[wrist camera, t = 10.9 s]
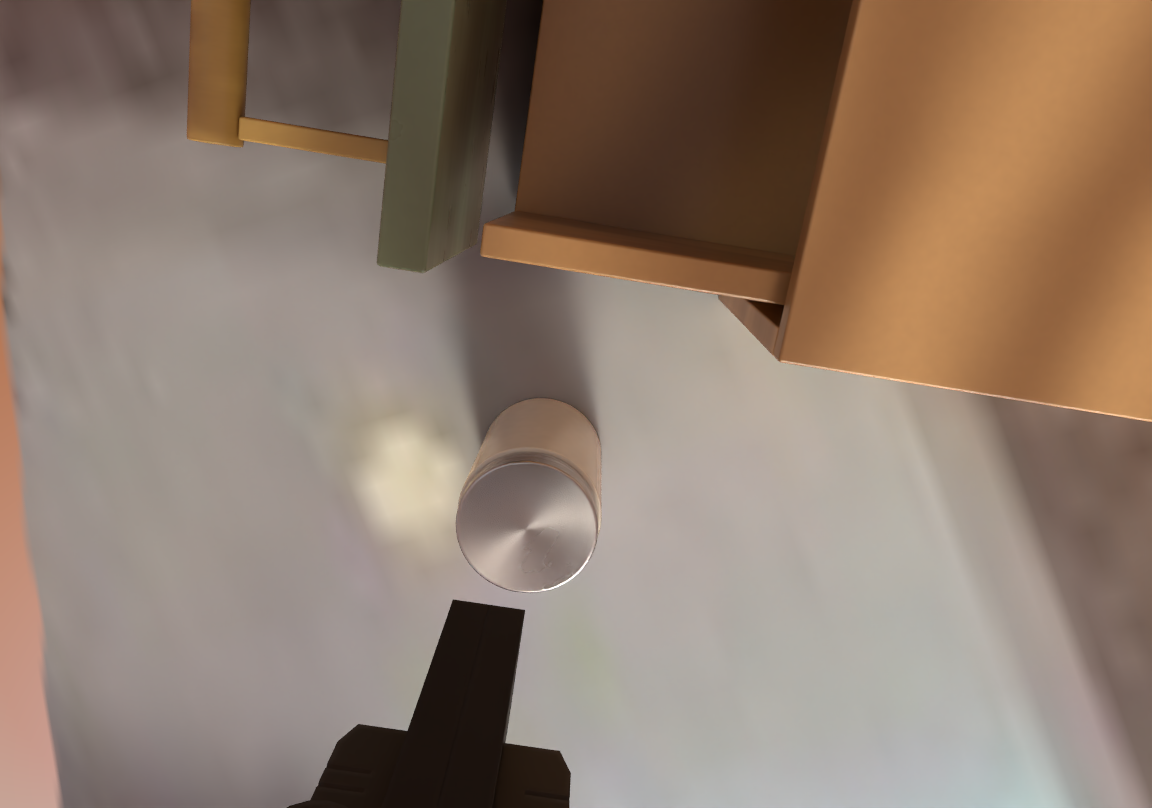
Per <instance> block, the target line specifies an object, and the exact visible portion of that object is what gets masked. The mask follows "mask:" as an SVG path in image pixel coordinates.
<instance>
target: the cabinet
mask: <svg viewBox="0 0 1152 808" xmlns="http://www.w3.org/2000/svg"><path fill="white" fill-rule="evenodd" d="M718 298H719V300H720V301H721V302H722V303H723V304H724V305H725V306H726V307H727V308H728V309H729V310H730V311H731V312H732V313H733V314H734V315H735V316H736V317H737V318H738V320H739V321H740V322H741V323H742V324H743V325H744V326H745V327H746V328H747V329H748V330H749V331H750V332H751V333H752V334H753V335H754V336H755V337H756V338H757V339H758V340H759V341H760V343H761V344H762V345H763V346H764V347H765V348H766V349H767V350H768V351H769V352H770V353H771V354H772V355H773V356H774V357H775V358H776V359H777V360H778V361H780V362H782V363H789V364H795V365H801V366H807V367H813V368H820V369H826V370H832V371H838V372H845V373H851V374H857V375H863V376H869V377H876V378H882V379H888V380H894V381H901V382H907V383H913V384H919V385H925V386H932V387H938V388H944V389H950V390H957V391H963V392H969V393H975V394H982V395H988V396H994V397H1000V398H1006V399H1013V400H1019V401H1025V402H1031V403H1038V404H1044V405H1050V406H1056V407H1062V408H1069V409H1075V410H1081V411H1087V412H1094V413H1100V414H1106V415H1112V416H1118V417H1125V418H1131V419H1137V420H1143V421H1150V422H1152V0H853V2H852V6H851V11H850V15H849V20H848V24H847V28H846V33H845V37H844V42H843V46H842V51H841V55H840V60H839V64H838V69H837V73H836V78H835V82H834V86H833V91H832V95H831V100H830V104H829V109H828V113H827V118H826V122H825V127H824V131H823V135H822V140H821V144H820V149H819V153H818V158H817V162H816V167H815V171H814V176H813V180H812V184H811V189H810V193H809V198H808V202H807V207H806V211H805V216H804V220H803V225H802V229H801V233H800V238H799V242H798V247H797V251H796V256H795V260H794V265H793V269H792V274H791V278H790V282H789V287H788V291H787V296H786V300H785V305H779V304H773V303H767V302H760V301H754V300H748V299H742V298H736V297H730V296H723V295H719V297H718Z"/></svg>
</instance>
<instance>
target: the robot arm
mask: <svg viewBox="0 0 1152 808" xmlns="http://www.w3.org/2000/svg"><path fill="white" fill-rule="evenodd" d="M524 614H525V610H521V609H514V608H507V607H500V606H493V605H487V604H480V603H473V602H466V601H459V600H453V601H452V604H451V607H450V610H449V613H448V616H447V619H446V622H445V624H444V627H443V630H442V633H441V636H440V639H439V642H438V645H437V648H436V650H435V653H434V656H433V659H432V662H431V665H430V668H429V671H428V674H427V676H426V679H425V682H424V685H423V688H422V691H421V694H420V697H419V700H418V702H417V705H416V708H415V711H414V714H413V717H412V720H411V723H410V726H409V728H408V731H402V730H396V729H389V728H382V727H375V726H368V725H361V724H358V725H357V726H356V727H354V728H353V729H352V730H351V731H350V732H348V733H347V734H346V735H345V736H344V737H343V738H341V739H340V740H339V741H338V742H337V744H336V746H335V748H334V750H333V753H332V755H331V757H330V759H329V761H328V763H327V768H325V770H324V772H323V774H322V776H321V778H320V781H319V784H318V786H317V787H316V789H315V791H314V794H313V796H312V798H311V800H310V801H305V802H302V803H298V804H295V805H291V806H289V807H287V808H569V797H570V777H571V773H570V771H569V769H568V767H567V765H566V763H565V761H564V759H563V757H562V755H561V753H560V751H555V750H548V749H542V748H535V747H528V746H521V745H514V744H507V743H505V741H506V735H507V729H508V722H509V716H510V709H511V702H512V695H513V688H514V682H515V675H516V668H517V661H518V654H519V648H520V641H521V634H522V627H523V621H524Z"/></svg>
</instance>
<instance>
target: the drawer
mask: <svg viewBox="0 0 1152 808" xmlns="http://www.w3.org/2000/svg"><path fill="white" fill-rule="evenodd" d="M852 2H853V0H543V5H542V12H541V20H540V27H539V35H538V42H537V49H536V57H535V64H534V72H533V79H532V87H531V94H530V101H529V109H528V116H527V124H526V131H525V139H524V146H523V153H522V161H521V168H520V176H519V183H518V191H517V198H516V205H515V211H514V212H512V213H509V214H507V215H504V216H502V217H499V218H497V219H495V220H492V221H490V222H487V223H485V224H484V226H483V233H482V241H481V249H480V254H481V256H483V257H488V258H494V259H501V260H507V261H513V262H519V263H525V264H532V265H538V266H544V267H550V268H556V269H562V270H569V271H575V272H581V273H587V274H593V275H600V276H606V277H612V278H618V279H624V280H631V281H637V282H643V283H649V284H655V285H661V286H668V287H674V288H680V289H686V290H692V291H699V292H705V293H711V294H717V295H723V296H730V297H736V298H742V299H748V300H754V301H760V302H767V303H773V304H779V305H785V300H786V296H787V291H788V287H789V282H790V278H791V274H792V269H793V265H794V260H795V256H796V251H797V247H798V242H799V238H800V233H801V229H802V225H803V220H804V216H805V211H806V207H807V202H808V198H809V193H810V189H811V184H812V180H813V176H814V171H815V167H816V162H817V158H818V153H819V149H820V144H821V140H822V135H823V131H824V127H825V122H826V118H827V113H828V109H829V104H830V100H831V95H832V91H833V86H834V82H835V78H836V73H837V69H838V64H839V60H840V55H841V51H842V46H843V42H844V37H845V33H846V28H847V24H848V20H849V15H850V11H851V6H852ZM250 4H251V0H191V23H190V54H189V84H188V115H187V139H189V140H193V141H199V142H205V143H211V144H218V145H225V146H232V147H243V145H244V141H250V142H256V143H262V144H269V145H275V146H281V147H287V148H293V149H299V150H305V151H312V152H318V153H324V154H330V155H336V156H342V157H348V158H354V159H361V160H367V161H373V162H379V163H385V164H386V168H385V179H384V190H383V200H382V211H381V222H380V233H379V243H378V254H377V264H378V265H379V266H382V267H388V268H394V269H400V270H406V271H413V272H419V273H425V272H427V271H429V270H430V269H432V268H434V267H436V266H438V265H439V264H441V263H443V262H445V261H447V260H449V259H450V258H452V257H454V256H456V255H458V254H459V253H461V252H463V251H465V250H467V249H468V248H470V247H472V246H474V245H476V243H477V239H478V231H479V222H480V214H481V206H482V198H483V190H484V182H485V174H486V166H487V158H488V150H489V142H490V134H491V126H492V118H493V110H494V102H495V94H496V86H497V78H498V70H499V61H500V53H501V45H502V37H503V29H504V21H505V13H506V5H507V0H401V8H400V19H399V29H398V40H397V51H396V61H395V72H394V83H393V94H392V104H391V115H390V126H389V136H388V140H383V139H377V138H371V137H365V136H359V135H353V134H346V133H340V132H334V131H328V130H322V129H316V128H310V127H304V126H297V125H291V124H285V123H279V122H273V121H267V120H261V119H255V118H248V117H245V105H246V85H247V64H248V44H249V24H250Z"/></svg>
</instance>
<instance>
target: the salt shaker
mask: <svg viewBox="0 0 1152 808" xmlns="http://www.w3.org/2000/svg"><path fill="white" fill-rule="evenodd" d="M600 526H601V446H600V442H599V438H598V436H597V433H596V431H595V429H594V428H593V426H592V424H591V423H590V422H589V420H588V419H587V418H586V417H585V416H584V415H583V414H582V413H581V412H579V411H578V410H577V409H575V408H574V407H572V406H570V405H569V404H566V403H564V402H561V401H558V400H554V399H547V398H535V399H528V400H524V401H521V402H518V403H516V404H514V405H512V406H510V407H508V408H507V409H506V410H504V411H503V412H502V413H501V414H500V415H499V416H498V417H497V418H496V419H495V420H494V421H493V423H492V424H491V426H490V428H489V429H488V432H487V434H486V436H485V438H484V441H483V443H482V445H481V447H480V450H479V452H478V454H477V457H476V459H475V461H474V463H473V466H472V468H471V470H470V472H469V475H468V477H467V479H466V481H465V484H464V486H463V489H462V491H461V494H460V498H459V503H458V511H457V516H456V533H457V539H458V542H459V545H460V548H461V550H462V553H463V555H464V556H465V558H466V560H467V561H468V563H469V564H470V565H471V566H472V567H473V569H474V570H475V571H476V572H477V573H478V574H479V575H481V576H482V577H483V578H485V579H486V580H487V581H489V582H491V583H492V584H494V585H496V586H499V587H501V588H504V589H507V590H511V591H515V592H522V593H535V592H542V591H547V590H551V589H553V588H556V587H559V586H561V585H563V584H565V583H566V582H568V581H569V580H571V579H572V578H574V577H575V576H576V575H577V574H578V573H579V572H580V571H581V570H582V569H583V568H584V567H585V566H586V564H587V563H588V561H589V560H590V558H591V556H592V554H593V552H594V549H595V546H596V542H597V538H598V534H599V531H600Z"/></svg>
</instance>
